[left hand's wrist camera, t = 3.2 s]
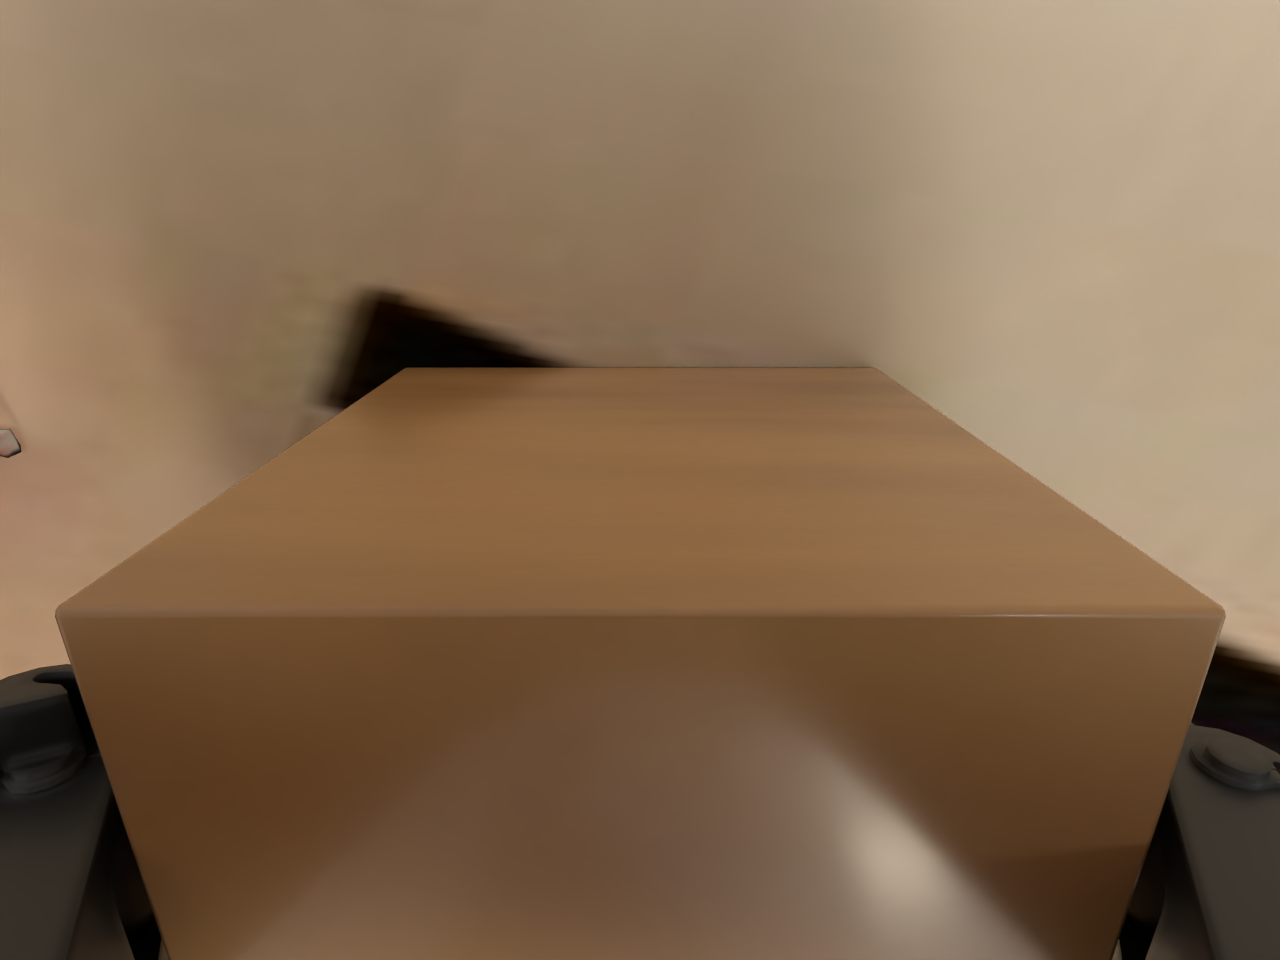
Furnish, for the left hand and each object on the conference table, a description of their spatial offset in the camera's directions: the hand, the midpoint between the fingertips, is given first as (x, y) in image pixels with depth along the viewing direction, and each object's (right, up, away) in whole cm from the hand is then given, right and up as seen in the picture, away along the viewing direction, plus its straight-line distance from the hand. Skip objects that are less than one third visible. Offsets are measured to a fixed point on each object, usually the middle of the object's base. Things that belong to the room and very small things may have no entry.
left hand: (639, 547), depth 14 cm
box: (0, -10, +4) cm, 11 cm away
